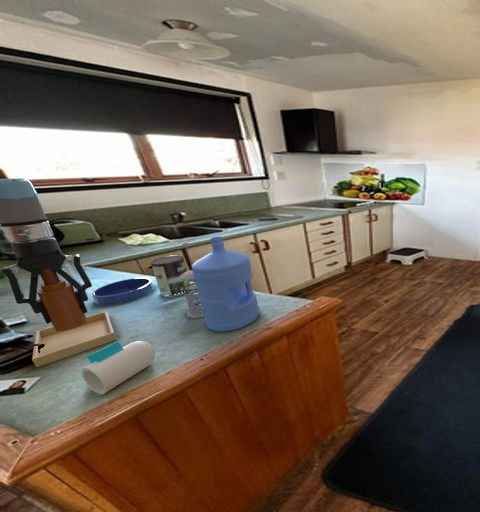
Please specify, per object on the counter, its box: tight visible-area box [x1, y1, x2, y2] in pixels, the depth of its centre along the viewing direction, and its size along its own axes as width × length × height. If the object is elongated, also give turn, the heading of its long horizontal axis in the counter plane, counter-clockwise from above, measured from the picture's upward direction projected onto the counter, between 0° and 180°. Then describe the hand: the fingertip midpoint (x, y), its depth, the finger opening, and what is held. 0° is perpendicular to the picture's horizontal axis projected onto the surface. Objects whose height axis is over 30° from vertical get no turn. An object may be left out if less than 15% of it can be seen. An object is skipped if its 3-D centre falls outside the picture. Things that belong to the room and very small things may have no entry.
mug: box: [80, 340, 156, 395], centre depth 66 cm, size 12×9×12 cm
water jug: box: [191, 236, 260, 332], centre depth 85 cm, size 16×16×28 cm
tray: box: [31, 310, 118, 368], centre depth 81 cm, size 15×19×2 cm
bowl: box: [91, 277, 155, 306], centre depth 107 cm, size 17×17×4 cm
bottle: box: [37, 268, 87, 331], centre depth 76 cm, size 6×6×18 cm
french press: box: [180, 242, 205, 319], centre depth 93 cm, size 10×12×25 cm
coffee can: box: [150, 255, 191, 298], centre depth 108 cm, size 10×10×14 cm
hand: (67, 316), depth 78 cm, fingers closed on bottle, 6 cm apart
